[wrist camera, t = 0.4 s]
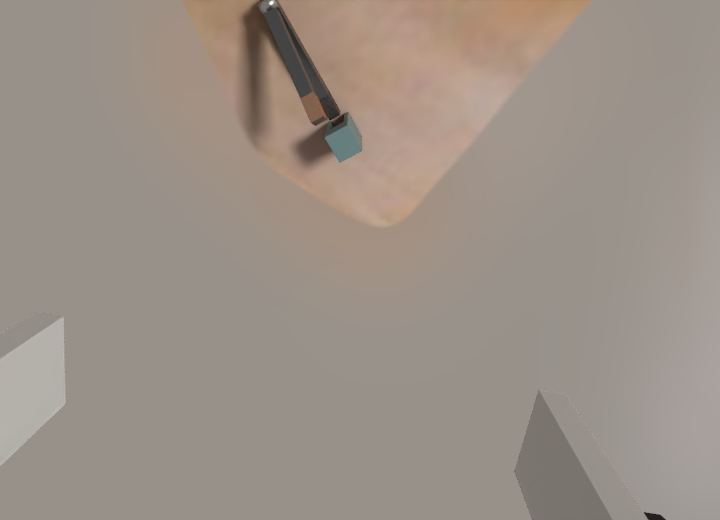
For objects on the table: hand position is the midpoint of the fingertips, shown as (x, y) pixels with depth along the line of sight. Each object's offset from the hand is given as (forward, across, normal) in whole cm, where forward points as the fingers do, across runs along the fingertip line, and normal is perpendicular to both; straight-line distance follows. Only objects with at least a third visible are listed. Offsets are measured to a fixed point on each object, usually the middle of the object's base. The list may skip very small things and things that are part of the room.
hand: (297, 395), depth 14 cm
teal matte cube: (+25, -1, +6) cm, 26 cm away
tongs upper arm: (+21, -4, +10) cm, 23 cm away
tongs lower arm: (+24, -4, +10) cm, 26 cm away
